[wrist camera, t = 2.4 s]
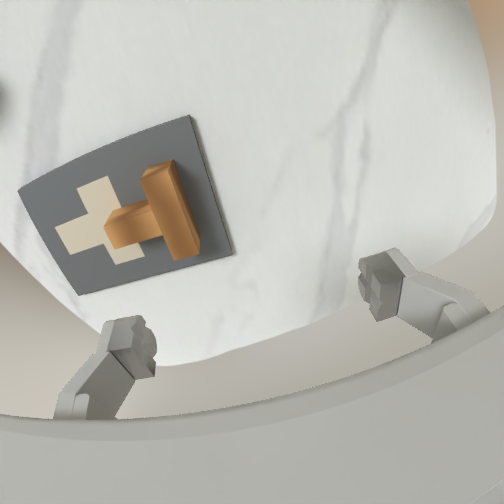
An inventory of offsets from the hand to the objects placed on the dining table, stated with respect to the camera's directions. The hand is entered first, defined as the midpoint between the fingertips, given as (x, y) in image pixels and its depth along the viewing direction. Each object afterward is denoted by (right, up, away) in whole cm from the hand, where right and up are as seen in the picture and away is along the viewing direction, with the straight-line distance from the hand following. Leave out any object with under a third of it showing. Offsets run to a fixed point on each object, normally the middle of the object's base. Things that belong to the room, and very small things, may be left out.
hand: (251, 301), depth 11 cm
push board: (-16, +6, +24) cm, 29 cm away
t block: (-12, +7, +23) cm, 26 cm away
